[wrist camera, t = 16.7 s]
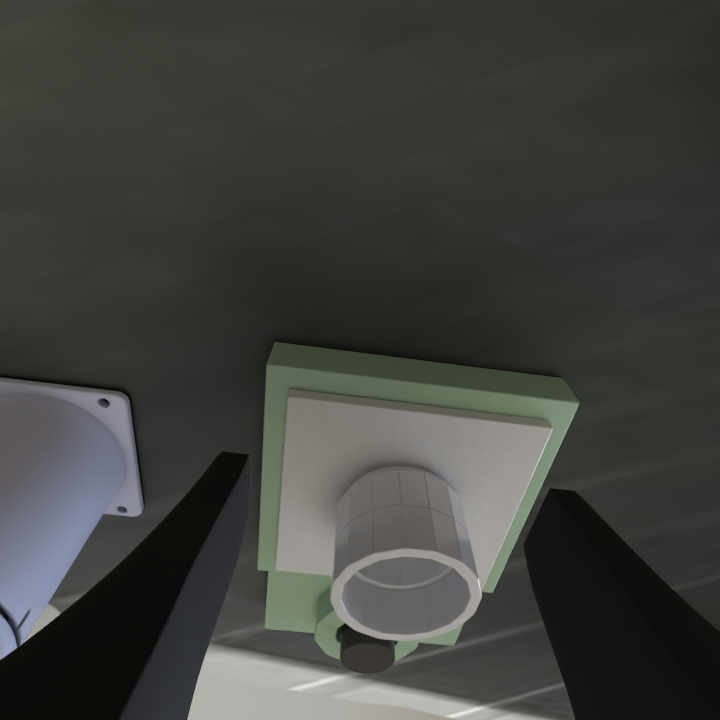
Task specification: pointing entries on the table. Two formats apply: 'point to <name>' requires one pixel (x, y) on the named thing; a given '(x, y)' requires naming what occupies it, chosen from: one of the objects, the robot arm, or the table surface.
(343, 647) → the button
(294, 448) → the scale
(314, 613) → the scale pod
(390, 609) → the grey cup
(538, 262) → the table surface
